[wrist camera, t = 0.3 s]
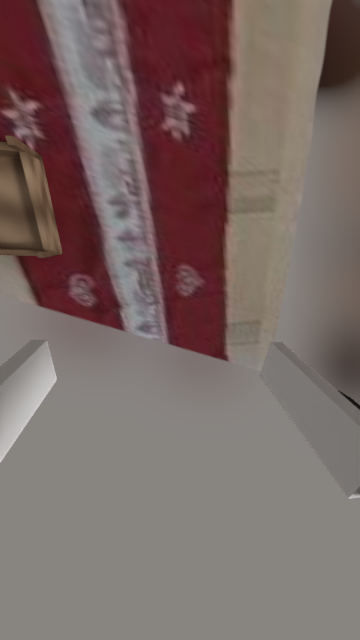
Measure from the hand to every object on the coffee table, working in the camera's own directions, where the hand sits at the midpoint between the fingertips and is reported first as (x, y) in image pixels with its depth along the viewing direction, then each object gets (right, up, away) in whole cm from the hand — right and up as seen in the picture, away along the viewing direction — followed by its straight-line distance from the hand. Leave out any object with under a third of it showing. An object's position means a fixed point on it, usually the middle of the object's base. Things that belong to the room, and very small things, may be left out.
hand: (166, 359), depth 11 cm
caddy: (-26, +20, +18) cm, 38 cm away
